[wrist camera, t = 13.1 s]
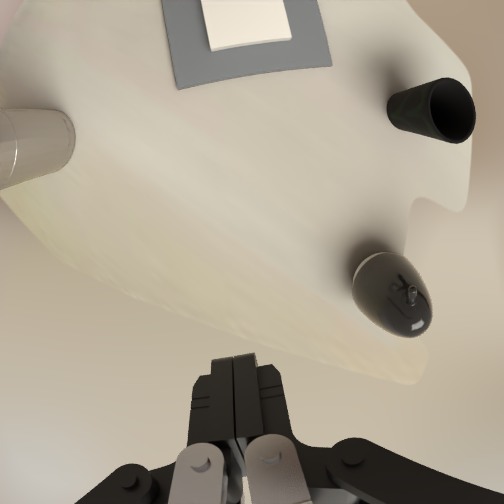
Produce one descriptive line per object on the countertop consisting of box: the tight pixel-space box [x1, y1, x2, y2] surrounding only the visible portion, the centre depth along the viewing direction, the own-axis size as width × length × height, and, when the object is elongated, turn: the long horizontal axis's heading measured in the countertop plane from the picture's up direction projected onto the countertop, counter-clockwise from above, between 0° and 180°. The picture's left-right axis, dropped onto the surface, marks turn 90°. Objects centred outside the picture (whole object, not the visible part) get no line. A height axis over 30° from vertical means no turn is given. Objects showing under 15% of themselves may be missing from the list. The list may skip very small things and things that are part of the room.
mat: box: [162, 0, 332, 90], centre depth 32 cm, size 20×18×1 cm
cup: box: [387, 78, 476, 144], centre depth 33 cm, size 8×8×12 cm
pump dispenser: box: [352, 252, 433, 338], centre depth 40 cm, size 10×10×15 cm
